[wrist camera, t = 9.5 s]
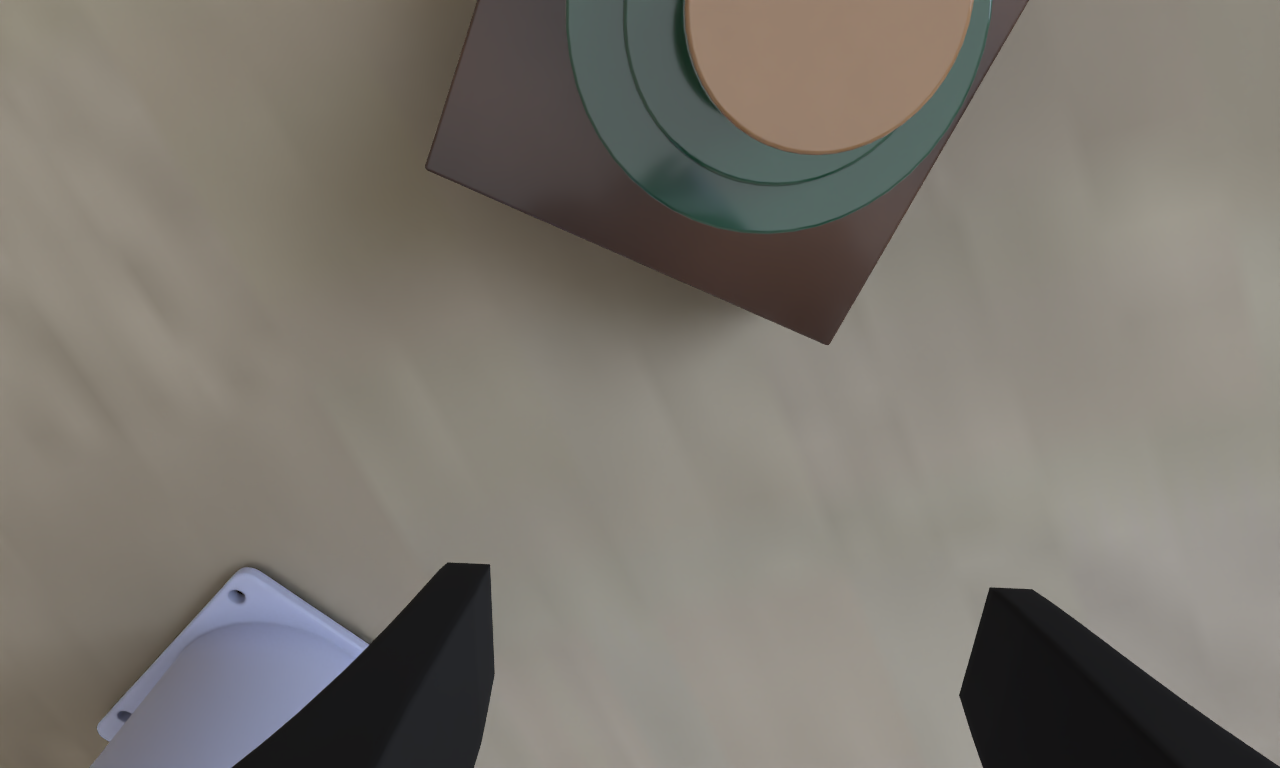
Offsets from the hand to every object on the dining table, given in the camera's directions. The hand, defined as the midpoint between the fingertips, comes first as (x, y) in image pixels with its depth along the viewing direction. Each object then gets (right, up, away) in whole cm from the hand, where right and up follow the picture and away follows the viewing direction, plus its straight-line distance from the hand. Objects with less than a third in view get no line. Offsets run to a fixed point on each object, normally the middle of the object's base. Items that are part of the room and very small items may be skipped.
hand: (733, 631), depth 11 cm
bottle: (0, +10, +3) cm, 10 cm away
